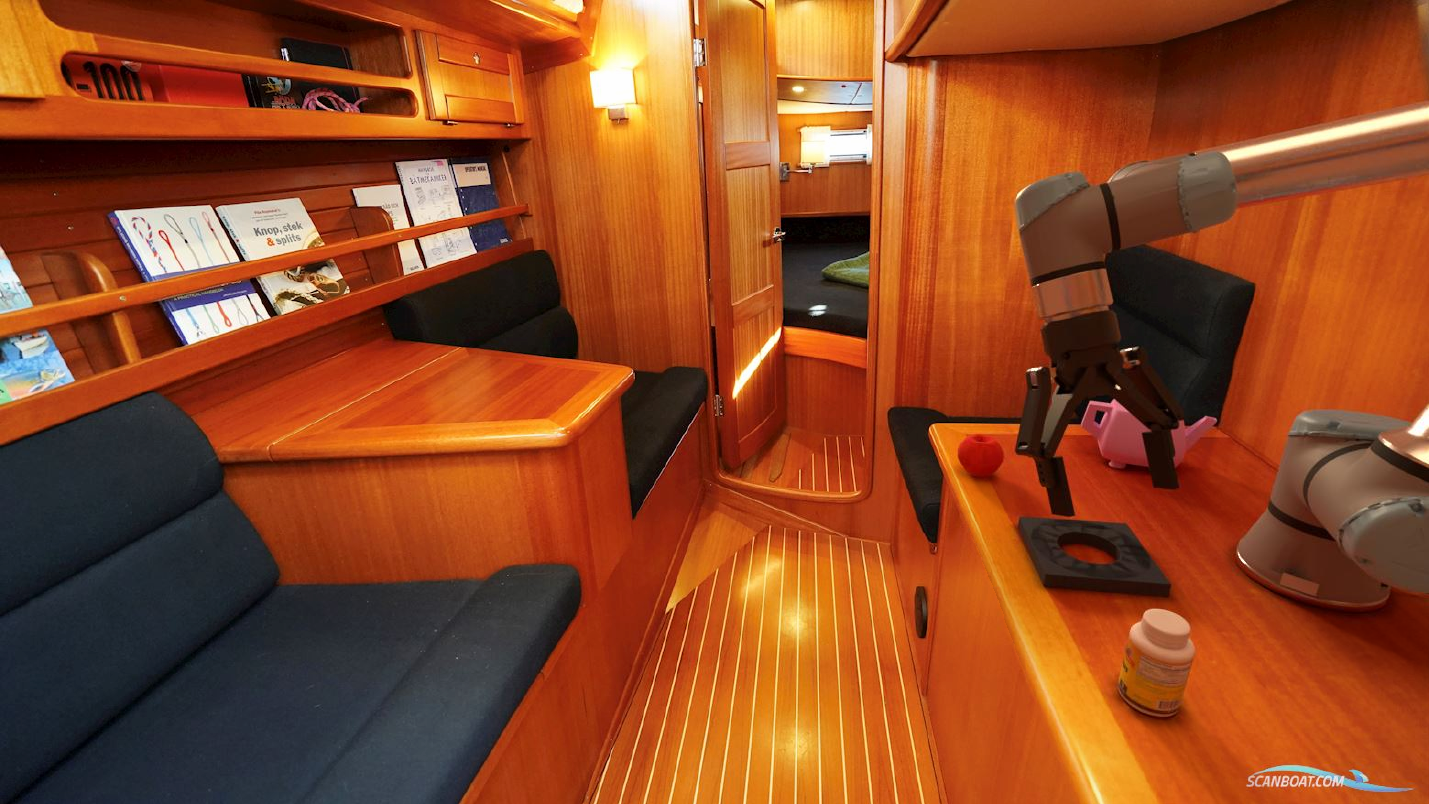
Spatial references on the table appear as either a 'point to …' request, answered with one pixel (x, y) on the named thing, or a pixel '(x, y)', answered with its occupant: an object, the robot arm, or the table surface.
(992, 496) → the table surface
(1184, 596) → the table surface
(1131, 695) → the supplement bottle
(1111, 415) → the teapot
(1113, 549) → the pad board
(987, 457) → the apple
